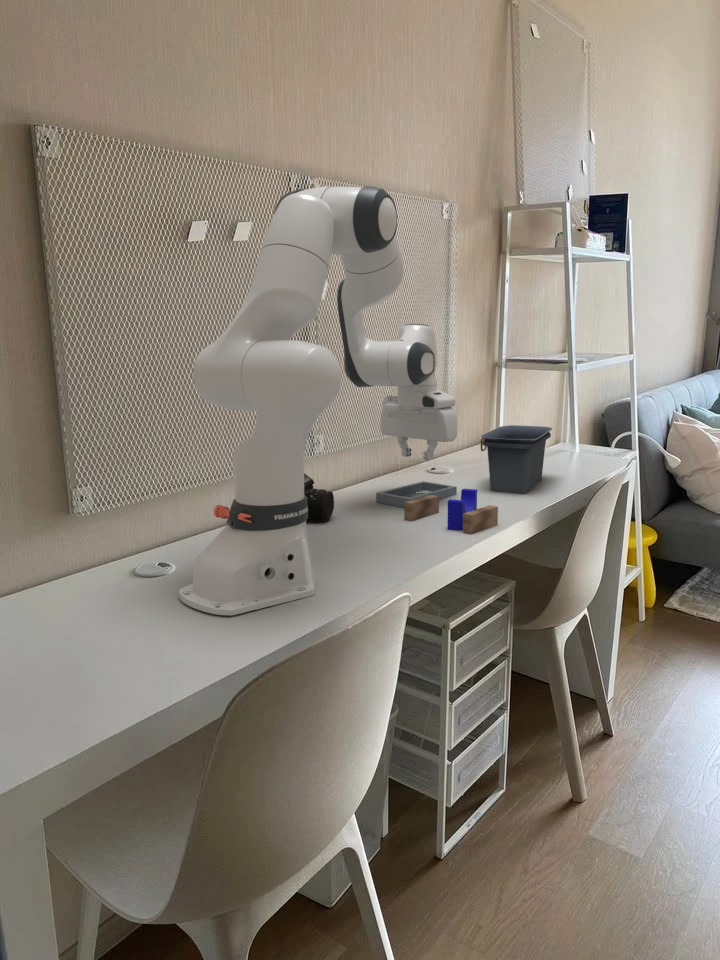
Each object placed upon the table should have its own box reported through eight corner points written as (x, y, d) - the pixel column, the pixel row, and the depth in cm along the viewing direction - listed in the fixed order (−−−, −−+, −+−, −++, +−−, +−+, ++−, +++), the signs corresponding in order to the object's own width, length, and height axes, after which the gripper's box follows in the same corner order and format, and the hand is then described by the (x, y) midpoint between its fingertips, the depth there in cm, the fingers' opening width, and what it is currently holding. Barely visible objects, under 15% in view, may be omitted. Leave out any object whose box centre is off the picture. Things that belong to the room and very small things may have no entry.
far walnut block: (411, 522, 156) (411, 503, 155) (404, 520, 157) (404, 502, 156) (438, 514, 162) (438, 496, 161) (431, 512, 163) (431, 494, 163)
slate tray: (409, 510, 165) (409, 499, 164) (376, 503, 172) (376, 492, 171) (456, 497, 177) (456, 486, 176) (423, 491, 184) (423, 481, 183)
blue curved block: (455, 515, 161) (456, 488, 159) (476, 517, 159) (477, 489, 158) (440, 529, 150) (440, 500, 148) (462, 531, 148) (462, 502, 147)
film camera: (333, 531, 150) (331, 482, 148) (271, 532, 150) (268, 483, 148) (335, 509, 167) (334, 465, 165) (279, 510, 167) (278, 466, 165)
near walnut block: (471, 535, 145) (471, 515, 145) (462, 533, 147) (463, 513, 146) (497, 526, 152) (497, 506, 151) (489, 524, 153) (489, 505, 152)
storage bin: (533, 500, 172) (535, 438, 170) (468, 494, 179) (469, 435, 176) (553, 482, 191) (555, 427, 188) (494, 478, 198) (495, 424, 195)
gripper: (373, 396, 174) (374, 454, 177) (443, 401, 161) (443, 464, 163) (391, 393, 179) (392, 451, 182) (461, 398, 165) (461, 460, 168)
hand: (417, 457), depth 172 cm, fingers open, 5 cm apart
